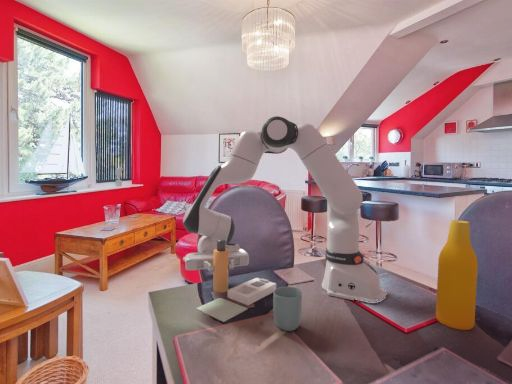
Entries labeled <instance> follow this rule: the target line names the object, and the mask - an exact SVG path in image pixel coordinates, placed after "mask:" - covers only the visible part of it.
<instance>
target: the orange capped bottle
mask: <svg viewBox="0 0 512 384" xmlns="http://www.w3.org/2000/svg"><path fill="white" fill-rule="evenodd" d="M225 244H226V240H224V239H219V240H217V249H214V250H213V265H214V271H213V273H212V275H213V277H212V278H213V281H212V285H213V286H212V288H213V289H212V290H213V292H215V293H225V292H228V290H229V269H228V268H229V250H228V249H225Z"/></svg>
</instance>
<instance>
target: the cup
mask: <svg viewBox="0 0 512 384" xmlns="http://www.w3.org/2000/svg"><path fill="white" fill-rule="evenodd" d="M272 307H273V308H272V311H273V313H272V314H273V321H274V323H275V326H276V327H277V328H278V329H280V330H281V331H283V330H284V332H293V331H295V330H296V329H298V328H299V326H300V324H301V321H302V320H301V319H302V314H303V292H302V290H301V289H300V288H297V287H295V286H286V285H285V286H279V287H276V289H275V290H274V292H273V296H272Z"/></svg>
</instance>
